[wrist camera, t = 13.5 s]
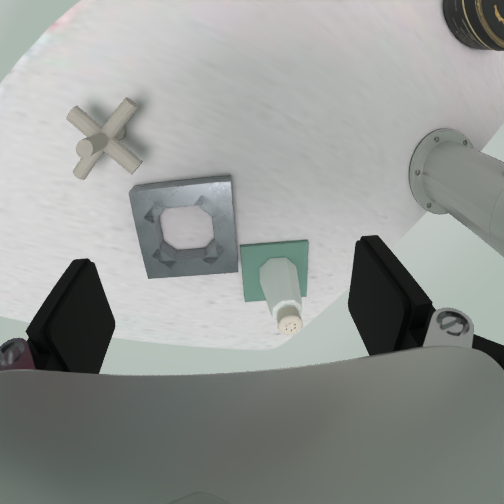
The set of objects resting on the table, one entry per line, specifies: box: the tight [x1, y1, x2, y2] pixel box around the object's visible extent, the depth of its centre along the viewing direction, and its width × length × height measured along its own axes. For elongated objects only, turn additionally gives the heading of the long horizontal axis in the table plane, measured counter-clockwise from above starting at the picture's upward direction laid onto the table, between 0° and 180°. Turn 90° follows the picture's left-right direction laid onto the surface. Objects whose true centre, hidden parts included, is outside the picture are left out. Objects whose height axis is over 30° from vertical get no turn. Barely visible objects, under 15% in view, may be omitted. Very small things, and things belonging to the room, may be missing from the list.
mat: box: [240, 240, 309, 302], centre depth 44 cm, size 9×9×1 cm
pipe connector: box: [66, 98, 143, 180], centre depth 29 cm, size 10×10×10 cm
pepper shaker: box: [259, 257, 303, 335], centre depth 39 cm, size 5×5×11 cm
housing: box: [129, 175, 238, 279], centre depth 39 cm, size 12×12×3 cm
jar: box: [444, 0, 504, 51], centre depth 24 cm, size 10×10×8 cm
